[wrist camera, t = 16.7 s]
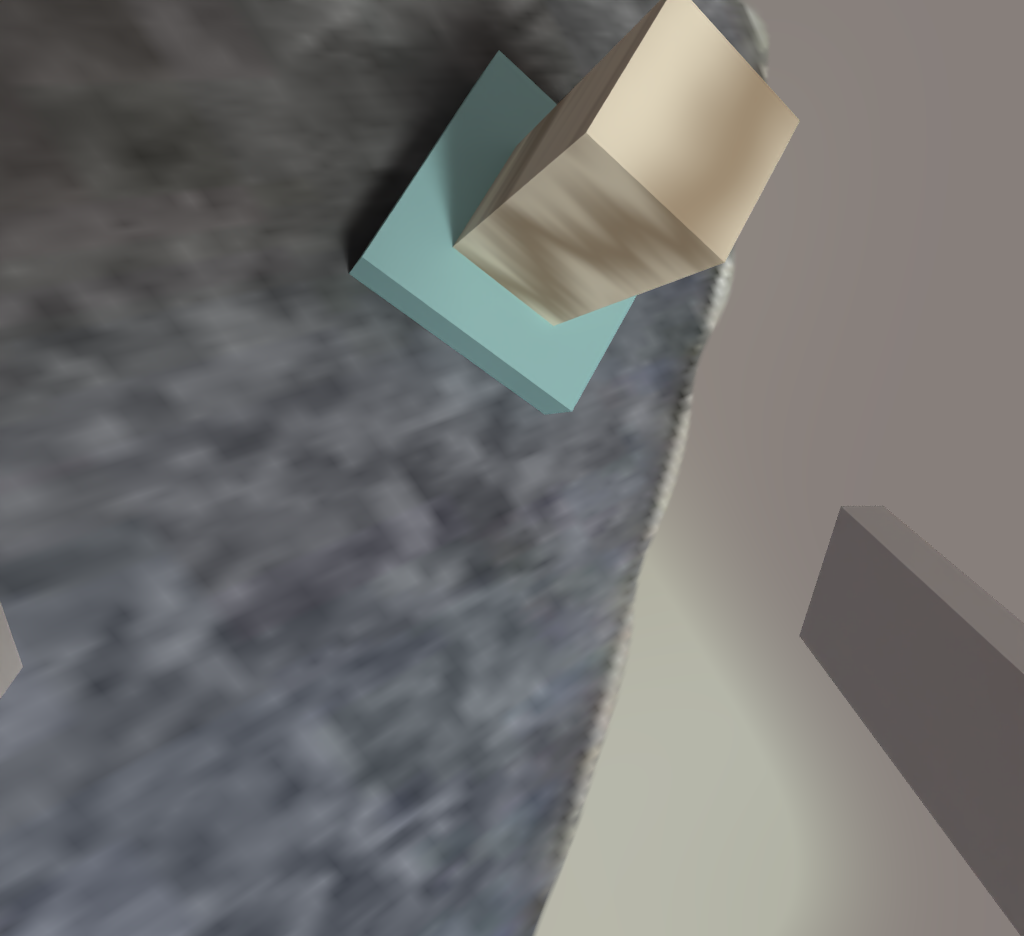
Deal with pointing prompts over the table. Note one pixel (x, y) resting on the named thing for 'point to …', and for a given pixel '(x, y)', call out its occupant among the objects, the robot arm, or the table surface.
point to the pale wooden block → (633, 171)
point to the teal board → (460, 283)
